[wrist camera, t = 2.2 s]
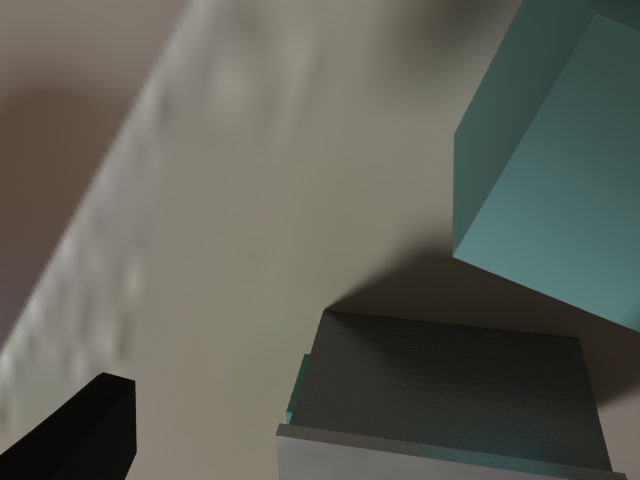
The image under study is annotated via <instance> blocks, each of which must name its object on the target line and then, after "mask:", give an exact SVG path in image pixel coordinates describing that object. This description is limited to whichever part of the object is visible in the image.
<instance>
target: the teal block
mask: <svg viewBox="0 0 640 480" xmlns="http://www.w3.org/2000/svg"><path fill="white" fill-rule="evenodd" d="M452 257H454V258H457V259H459V260H462V261H464V262H467V263H469V264H472V265H474V266H476V267H479V268H481V269H484V270H486V271H489V272H491V273H494V274H496V275H499V276H501V277H504V278H506V279H509V280H511V281H513V282H516V283H518V284H521V285H523V286H526V287H528V288H531V289H533V290H536V291H538V292H541V293H543V294H546V295H548V296H551V297H553V298H555V299H558V300H560V301H563V302H565V303H568V304H570V305H573V306H575V307H578V308H580V309H583V310H585V311H588V312H590V313H593V314H595V315H597V316H600V317H602V318H605V319H607V320H610V321H612V322H615V323H617V324H620V325H622V326H625V327H627V328H630V329H632V330H635V331H637V332H639V333H640V0H523V1H522V3H521V5H520V7H519V9H518V11H517V13H516V15H515V17H514V19H513V21H512V23H511V25H510V27H509V29H508V31H507V33H506V34H505V36H504V38H503V40H502V42H501V44H500V46H499V48H498V50H497V52H496V54H495V56H494V58H493V60H492V62H491V64H490V66H489V67H488V69H487V71H486V73H485V75H484V77H483V79H482V81H481V83H480V85H479V87H478V89H477V91H476V93H475V95H474V97H473V99H472V101H471V102H470V104H469V106H468V108H467V110H466V112H465V114H464V116H463V118H462V120H461V122H460V124H459V126H458V128H457V130H456V132H455V134H454V181H453V250H452Z"/></svg>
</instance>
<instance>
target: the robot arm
mask: <svg viewBox="0 0 640 480" xmlns="http://www.w3.org/2000/svg"><path fill="white" fill-rule="evenodd" d="M136 453H137V441H136V392H135V381H134V380H130V379H127V378H123V377H119V376H115V375H112V374H108V373H104V372H103V373H101V374H99V375H97V376H96V377H95V378H94V379H93V380H92V381H90V382H89V383H88V384H87V385H86V386H85V387H83V388H82V389H81V390H80V391H79V392H78V393H76V394H75V395H74V396H73V397H72V398H71V399H69V400H68V401H67V402H66V403H65V404H63V405H62V406H61V407H60V408H59V409H57V410H56V411H55V412H54V413H53V414H51V415H50V416H49V417H48V418H47V419H45V420H44V421H43V422H42V423H40V424H39V425H38V426H37V427H36V428H34V429H33V430H32V431H31V432H29V433H28V434H27V435H25V436H24V437H23V438H22V439H20V440H19V441H18V442H16V443H15V444H14V445H13V446H11V447H10V448H9V449H7V450H6V451H5V452H4V453H2V454H1V455H0V480H125V478H126V476H127V473H128V471H129V469H130V466H131V464H132V462H133V460H134V457H135V455H136Z"/></svg>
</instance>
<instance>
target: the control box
mask: <svg viewBox="0 0 640 480" xmlns="http://www.w3.org/2000/svg"><path fill="white" fill-rule="evenodd" d="M286 416H287V424H281V423H279V426H278V429H277V433H276V447H277V459H278V471H279V480H627V478H626V474H625V473H618V472H613V471H612V467H611V463H610V459H609V455H608V451H607V447H606V444H605V440H604V436H603V432H602V428H601V424H600V420H599V416H598V412H597V408H596V404H595V400H594V397H593V393H592V389H591V385H590V381H589V377H588V373H587V369H586V365H585V361H584V357H583V354H582V350H581V346H580V342H579V339H574V338H565V337H556V336H547V335H538V334H529V333H520V332H511V331H502V330H492V329H483V328H474V327H465V326H456V325H447V324H438V323H429V322H420V321H411V320H402V319H393V318H384V317H375V316H366V315H357V314H348V313H339V312H330V311H323V314H322V317H321V320H320V323H319V327H318V330H317V333H316V337H315V340H314V343H313V347H312V350H311V353H310V354H304V357H303V360H302V364H301V367H300V370H299V373H298V376H297V380H296V383H295V386H294V389H293V392H292V395H291V399H290V402H289V405H288V408H287V411H286Z"/></svg>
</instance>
